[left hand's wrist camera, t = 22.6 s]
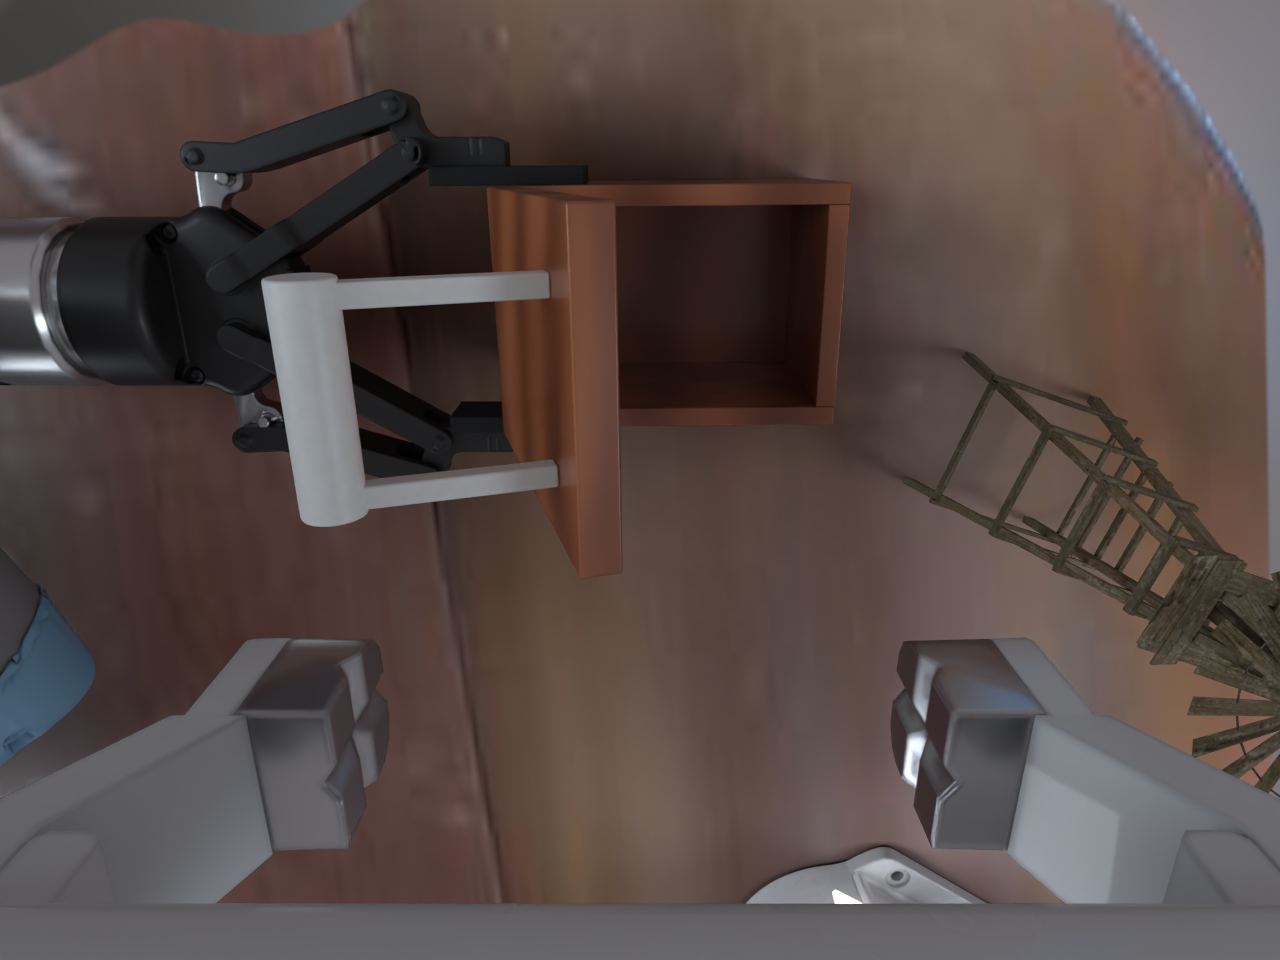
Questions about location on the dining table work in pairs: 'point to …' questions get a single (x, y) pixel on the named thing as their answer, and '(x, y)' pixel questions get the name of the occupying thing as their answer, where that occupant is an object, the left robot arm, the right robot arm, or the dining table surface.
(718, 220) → the open box
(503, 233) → the wooden panel with handle
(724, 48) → the dining table surface
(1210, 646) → the miniature windmill
